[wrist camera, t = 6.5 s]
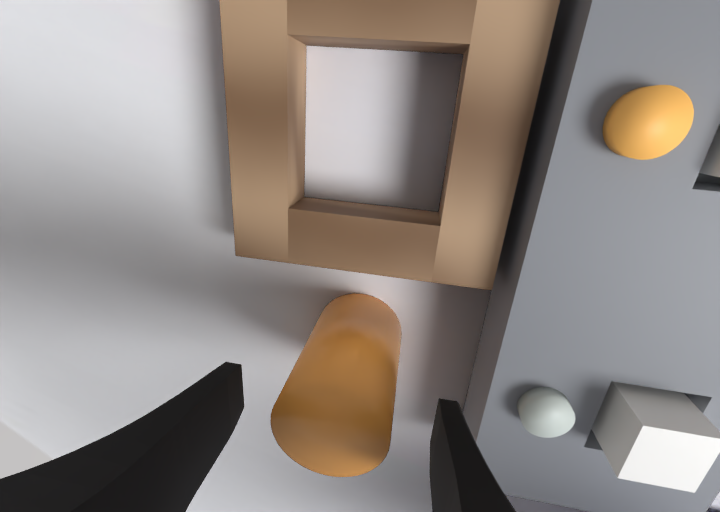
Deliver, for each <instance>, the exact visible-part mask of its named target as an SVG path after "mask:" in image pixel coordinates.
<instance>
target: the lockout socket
mask: <svg viewBox="0 0 720 512" xmlns="http://www.w3.org/2000/svg"><path fill="white" fill-rule="evenodd" d="M219 2H220V17H221V33H222V49H223V65H224V80H225V96H226V112H227V128H228V144H229V159H230V175H231V191H232V207H233V222H234V238H235V254H236V256H241V257H248V258H256V259H263V260H271V261H278V262H285V263H293V264H300V265H308V266H315V267H322V268H330V269H337V270H345V271H352V272H359V273H367V274H374V275H382V276H389V277H396V278H404V279H411V280H419V281H426V282H433V283H441V284H448V285H456V286H463V287H470V288H478V289H485V290H492V288H493V283H494V279H495V275H496V271H497V266H498V262H499V258H500V254H501V249H502V245H503V241H504V237H505V232H506V228H507V224H508V220H509V215H510V211H511V207H512V203H513V198H514V194H515V190H516V186H517V181H518V177H519V173H520V169H521V164H522V160H523V156H524V152H525V147H526V143H527V139H528V135H529V130H530V126H531V122H532V118H533V113H534V109H535V105H536V101H537V96H538V92H539V88H540V84H541V79H542V75H543V71H544V67H545V62H546V58H547V54H548V50H549V45H550V41H551V37H552V32H553V28H554V24H555V20H556V15H557V11H558V7H559V3H560V0H219ZM306 45H308V46H326V47H344V48H361V49H379V50H397V51H415V52H433V53H451V54H463V60H462V66H461V73H460V79H459V85H458V92H457V98H456V104H455V111H454V117H453V123H452V130H451V136H450V142H449V149H448V155H447V161H446V168H445V174H444V180H443V187H442V193H441V199H440V206H439V212H434V211H425V210H416V209H407V208H398V207H389V206H380V205H371V204H362V203H353V202H344V201H335V200H326V199H317V198H308V197H304V184H305V109H306Z"/></svg>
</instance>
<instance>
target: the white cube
mask: <svg viewBox="0 0 720 512" xmlns="http://www.w3.org/2000/svg"><path fill="white" fill-rule="evenodd" d="M699 173H702V174H707V175H711V176H716V177H720V124H719V126H718V129H717V131H716V133H715V136H714V138H713V141H712V143H711V145H710V148H709V150H708V152H707V155H706V157H705V160H704V162H703V164H702V167H701V169H700V171H699Z"/></svg>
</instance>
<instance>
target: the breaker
mask: <svg viewBox="0 0 720 512" xmlns="http://www.w3.org/2000/svg"><path fill="white" fill-rule="evenodd" d="M591 429H592V431H593V433H594V435H595V437H596V439H597V440H598V442H599V444H600V446H601V448H602V450H603V452H604V454H605V456H606V458H607V459H608V461H609V463H610V465H611V467H612V469H613V471H614V473H615V475H616V476H617V478H619V479H625V480H630V481H635V482H640V483H646V484H651V485H656V486H661V487H667V488H672V489H677V490H682V491H688V492H693V493H695V492H696V490H697V488H698V487H699V485H700V484H701V482H702V480H703V479H704V477H705V476H706V474H707V472H708V471H709V469H710V467H711V466H712V464H713V463H714V461H715V459H716V458H717V456H718V455H719V453H720V431H719V430H718V429H717V428H716V427H715V426H714V425H713V424H712V423H711V422H710V421H709V420H708V419H707V417H706V416H705V415H704V414H703V413H702V412H701V411H700V410H699V409H698V408H697V407H696V406H695V404H694V403H693V402H692V401H691V400H690V399H689V398H688V397H687V396H686V395H685V394H684V393H682V392H676V391H670V390H664V389H657V388H651V387H645V386H638V385H632V384H626V383H620V382H613V381H611V383H610V386H609V388H608V390H607V393H606V395H605V398H604V400H603V402H602V405H601V407H600V409H599V412H598V414H597V417H596V419H595V421H594V424H593V426H592V428H591Z"/></svg>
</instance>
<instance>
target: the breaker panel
mask: <svg viewBox="0 0 720 512" xmlns="http://www.w3.org/2000/svg"><path fill="white" fill-rule="evenodd" d="M719 124H720V0H560V3H559V7H558V11H557V15H556V20H555V24H554V28H553V32H552V37H551V41H550V45H549V50H548V54H547V58H546V62H545V67H544V71H543V75H542V79H541V84H540V88H539V92H538V96H537V101H536V105H535V109H534V113H533V118H532V122H531V126H530V130H529V135H528V139H527V143H526V147H525V152H524V156H523V160H522V164H521V169H520V173H519V177H518V181H517V186H516V190H515V194H514V198H513V203H512V207H511V211H510V215H509V220H508V224H507V228H506V232H505V237H504V241H503V245H502V249H501V254H500V258H499V262H498V266H497V271H496V275H495V279H494V283H493V288H492V290H491V294H490V298H489V303H488V307H487V311H486V315H485V320H484V324H483V328H482V333H481V337H480V341H479V345H478V350H477V354H476V358H475V362H474V367H473V371H472V375H471V379H470V384H469V388H468V392H467V397H466V401H465V405H464V409H463V415H464V418H465V420H466V422H467V425H468V427H469V429H470V431H471V433H472V435H473V438H474V440H475V442H476V444H477V446H478V448H479V450H480V452H481V453H482V455H483V457H484V459H485V461H486V463H487V465H488V467H489V468H490V470H491V472H492V474H493V476H494V477H495V479H496V481H497V482H498V484H499V486H500V487H501V489H502V491H503V492H504V494H505V495H509V496H514V497H519V498H524V499H529V500H534V501H538V502H543V503H548V504H553V505H558V506H563V507H568V508H573V509H578V510H583V511H588V512H706V511H707V510H708V508H709V507H710V505H711V504H712V502H713V501H714V499H715V498H716V496H717V495H718V493H719V492H720V453H719V455H718V456H717V458H716V459H715V461H714V463H713V464H712V466H711V467H710V469H709V471H708V472H707V474H706V476H705V477H704V479H703V480H702V482H701V484H700V485H699V487H698V488H697V490H696V492H695V493H693V492H688V491H682V490H677V489H672V488H667V487H661V486H656V485H651V484H646V483H640V482H635V481H630V480H625V479H619V478H617V476H616V475H615V473H614V471H613V469H612V467H611V465H610V463H609V461H608V459H607V458H606V456H605V454H604V452H603V450H602V448H601V446H600V444H599V442H598V440H597V439H596V437H595V435H594V433H593V431H592V429H591V428H592V426H593V424H594V421H595V419H596V417H597V414H598V412H599V409H600V407H601V405H602V402H603V400H604V398H605V395H606V393H607V390H608V388H609V386H610V383H611V381H613V382H620V383H626V384H632V385H638V386H645V387H651V388H657V389H664V390H670V391H676V392H682V393H684V394H685V395H686V396H687V397H688V398H689V399H690V400H691V401H692V402H693V403H694V404H695V406H696V407H697V408H698V409H699V410H700V411H701V412H702V413H703V414H704V415H705V416H706V417H707V419H708V420H709V421H710V422H711V423H712V424H713V425H714V426H715V427H716V428H717V429H718V430H719V431H720V177H716V176H711V175H707V174H702V173H699V171H700V169H701V167H702V164H703V162H704V160H705V157H706V155H707V152H708V150H709V148H710V145H711V143H712V141H713V138H714V136H715V133H716V131H717V129H718V126H719Z"/></svg>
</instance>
